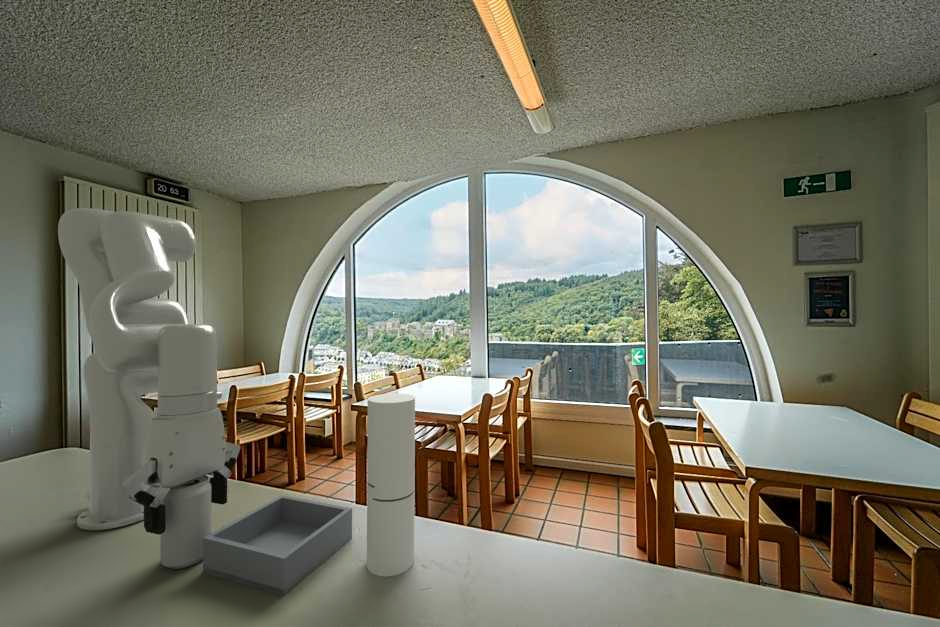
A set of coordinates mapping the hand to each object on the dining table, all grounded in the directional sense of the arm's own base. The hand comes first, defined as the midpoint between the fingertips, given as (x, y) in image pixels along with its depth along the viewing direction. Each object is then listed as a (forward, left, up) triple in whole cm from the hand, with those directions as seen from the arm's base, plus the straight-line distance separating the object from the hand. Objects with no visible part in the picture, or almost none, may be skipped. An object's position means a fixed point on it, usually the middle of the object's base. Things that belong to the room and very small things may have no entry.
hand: (189, 516), depth 62 cm
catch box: (+12, +6, -7) cm, 15 cm away
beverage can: (-1, 0, -7) cm, 7 cm away
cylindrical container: (+29, +10, -7) cm, 32 cm away
